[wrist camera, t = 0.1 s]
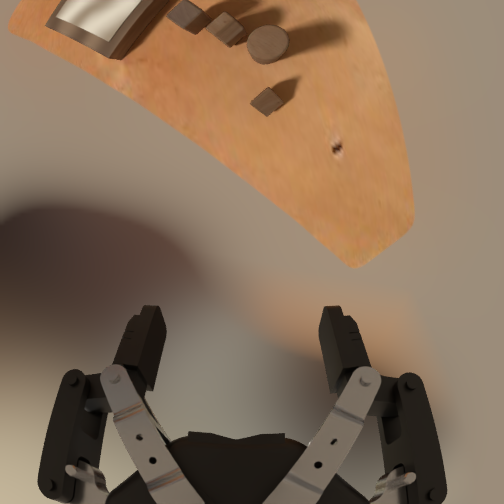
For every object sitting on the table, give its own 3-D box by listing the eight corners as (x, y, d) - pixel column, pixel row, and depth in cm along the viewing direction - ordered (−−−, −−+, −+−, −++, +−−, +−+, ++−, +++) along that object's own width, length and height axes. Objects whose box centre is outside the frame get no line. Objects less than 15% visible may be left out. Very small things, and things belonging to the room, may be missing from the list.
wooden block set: (174, 34, 26) (145, 24, 18) (219, -7, 22) (205, -31, 14) (266, 115, 34) (267, 129, 26) (313, 77, 30) (331, 78, 22)
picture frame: (59, 27, 22) (44, 25, 18) (102, -31, 16) (90, -38, 13) (121, 60, 27) (107, 58, 24) (173, -4, 22) (164, -13, 19)
